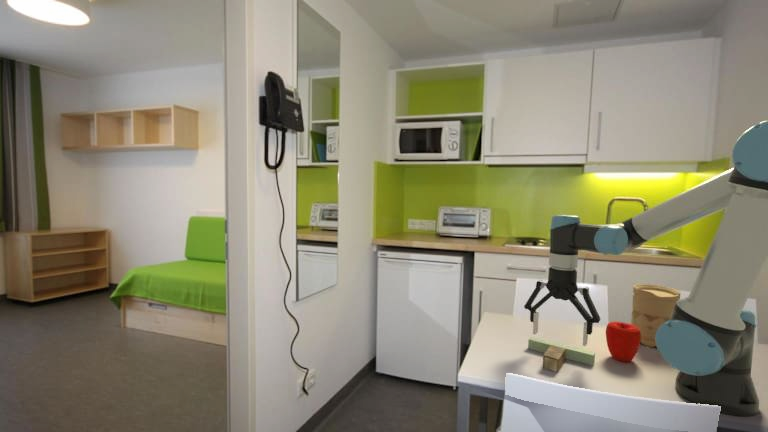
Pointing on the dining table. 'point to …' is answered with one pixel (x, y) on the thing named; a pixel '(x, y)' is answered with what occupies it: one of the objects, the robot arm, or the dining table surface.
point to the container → (652, 309)
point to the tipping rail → (570, 354)
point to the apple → (623, 340)
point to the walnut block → (554, 358)
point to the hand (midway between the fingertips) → (559, 338)
